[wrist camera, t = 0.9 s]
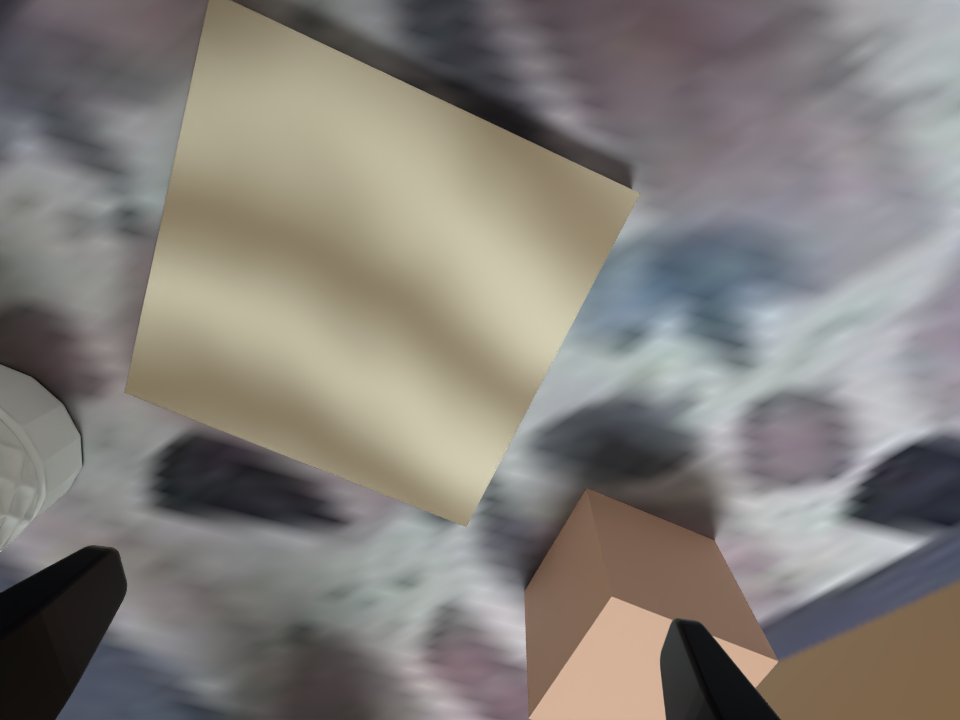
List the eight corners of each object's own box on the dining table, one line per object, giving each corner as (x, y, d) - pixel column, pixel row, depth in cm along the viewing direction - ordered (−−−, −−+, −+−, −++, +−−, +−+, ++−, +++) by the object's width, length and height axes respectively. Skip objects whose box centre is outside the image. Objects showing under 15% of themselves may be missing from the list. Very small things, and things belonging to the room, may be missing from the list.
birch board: (468, 508, 23) (466, 526, 22) (144, 380, 22) (124, 392, 21) (632, 190, 18) (640, 193, 17) (230, 1, 17) (210, -10, 16)
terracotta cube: (642, 635, 25) (680, 772, 20) (524, 590, 25) (528, 718, 19) (713, 539, 23) (778, 661, 18) (586, 486, 23) (611, 596, 17)
